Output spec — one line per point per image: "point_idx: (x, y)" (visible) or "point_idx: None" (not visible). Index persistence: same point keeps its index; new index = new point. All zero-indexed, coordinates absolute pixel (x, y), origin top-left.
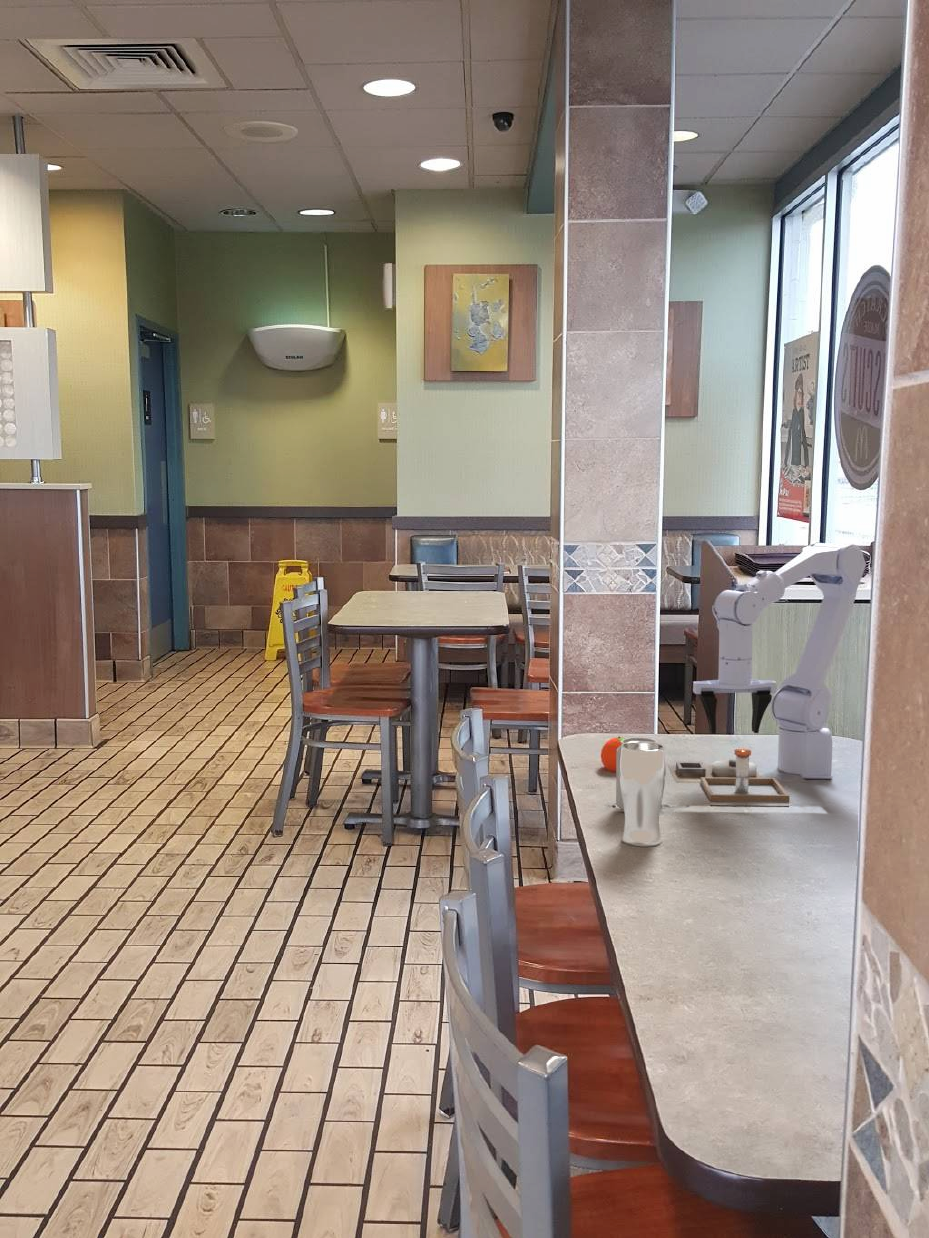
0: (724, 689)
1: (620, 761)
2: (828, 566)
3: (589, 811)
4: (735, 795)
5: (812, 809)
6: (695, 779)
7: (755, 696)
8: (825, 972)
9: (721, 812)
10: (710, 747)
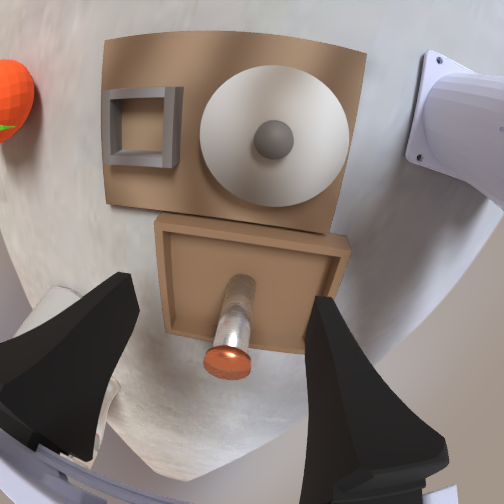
0: (103, 499)
1: None
2: None
3: (32, 298)
4: (210, 340)
5: None
6: (150, 185)
7: (318, 490)
8: (208, 468)
9: (186, 341)
10: None
